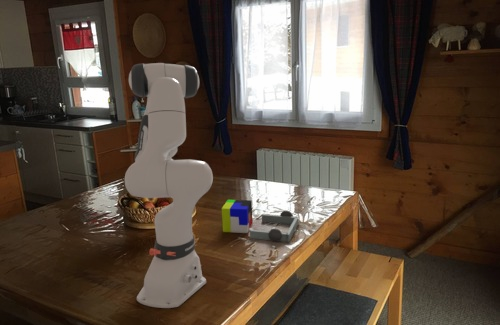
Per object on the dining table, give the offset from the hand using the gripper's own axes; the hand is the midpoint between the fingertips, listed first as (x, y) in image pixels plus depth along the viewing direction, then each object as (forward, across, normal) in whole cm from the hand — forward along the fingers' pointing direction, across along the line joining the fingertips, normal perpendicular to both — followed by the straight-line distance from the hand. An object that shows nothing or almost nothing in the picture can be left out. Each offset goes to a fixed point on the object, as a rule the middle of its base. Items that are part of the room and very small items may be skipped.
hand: (194, 196), depth 175 cm
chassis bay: (+32, 0, -15) cm, 35 cm away
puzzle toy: (+22, 0, -4) cm, 22 cm away
